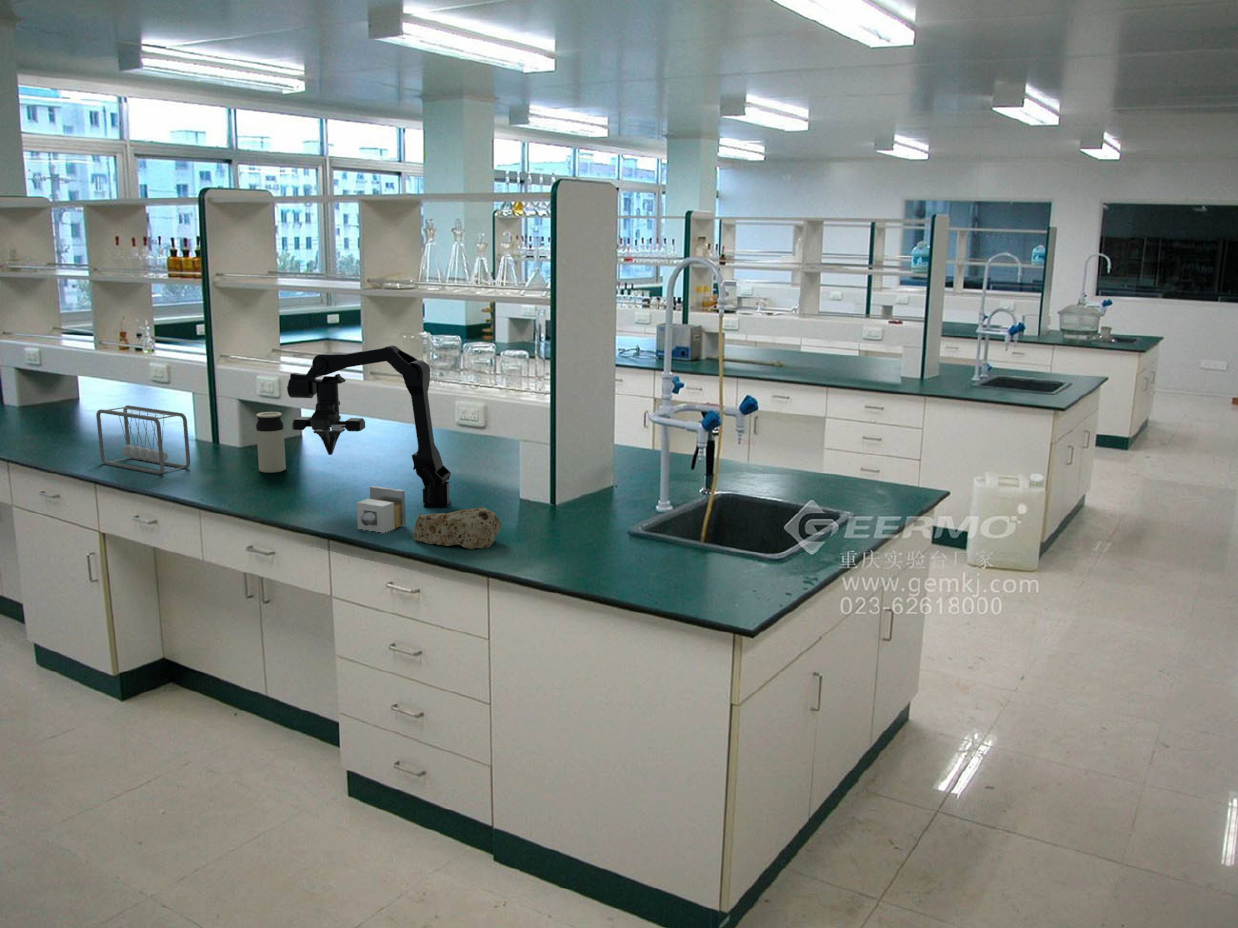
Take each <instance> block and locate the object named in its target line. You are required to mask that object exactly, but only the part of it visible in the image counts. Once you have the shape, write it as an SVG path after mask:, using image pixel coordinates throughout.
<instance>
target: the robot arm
mask: <svg viewBox="0 0 1238 928" xmlns="http://www.w3.org/2000/svg"><path fill="white" fill-rule="evenodd" d="M383 362H387V363H388V364H389V365H390V366H391V367H392V368H393V369H394V370H395V371H396V372H398V374H400V375H402V378H403V380H404V385H405V387H406V389H407V391H408V393H409V395H410V398H411V403H412V412H413V418H414V419H413V420H414V426H415V433H416V440H417V441H416V442H417V451H416V452H414V453H413V454H412V455H411V458H412V462H413V468H412V469H413V471H414V470H415V473H416V475H417V476H418V477H419V478H421V481H422V484H423V486H424V487H423V488H422V504H423V507H425V508H427V507H428V508H448V506H449V505H450V504H451V503H452V499H450V481H449V480H450V478H451V475H452V472H451V471H450V470H449V469H448V468H447V467H446V466H445V465H444V463H443V460H442V457H441V455H440V454H441V453H440V452H439V449H438V448H437V446H436V443H435V439H434V432H433V424H432V415H431V409H430V401H429V393H428V392H429V387H430V383H431V382H430V381H431V368H430V365H429V364H428V363H426V361H424V360H419V359H417V358H416V357H414V356H413V355H410V354H409V353H407V352H405V351H404V350H403V349H402V350H401V349H400V348H399V347H397V346H396V345H388V346H385V347H380V348H379V347H377V348H372V349H367V350H366V349H365V350H361V351H360V350H359V351H355V352H340V351H339V352H337V351H327V352H324V353H321V354H317V355H315V356H314V358H313V359H312V363H311V367H310V368H309V370H308V371H307V372H306V373H300V372H292V373H290V374H289V377H290V378H289V379H288V383H287V386H286V390H287V394H288V396H289V398H290V399H291V398H293V399H297V398H298V399H313V397H314V396H316V402H317V403H315V410H314V412H313V413H312V415H311V416H299V417H296V418H295V419H293V420H292V423H291V424H292V430H293V431H304V430H305V429H306V428H307V427H308V428H311V430H313V431H312V432H313V433H314V434H316V435H318V437H320V439H321V441H322V442H323V445H324V448H325V450H326V452H327V454H328V456H332V455H333V453H334V451H335V447H336V445H337V442H338V441H339V440H338V439H339V437H340V435H341V434H342V433H343V432H344V431H347V432H361V431H362V430H364V429H366V421H365V419H364V418H363V417H350V418H348V419H346V420H342V417H341V415H340V405H341V401H340V399H339V384H343V383H345V382H346V379H345V378H344V377H343V376H342V375H341V374H340V373H337V374H334V376H330V375H331V374H333V373H336V372H339V371H342V370H344V369H348V368H351V367H357V366H358V367H359V366H364V365H372V364H377V363H383ZM327 375H329V376H327ZM319 377H323V378H321V379H317V378H319Z"/></svg>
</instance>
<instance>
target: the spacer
mask: <svg viewBox="0 0 1238 928" xmlns="http://www.w3.org/2000/svg"><path fill="white" fill-rule="evenodd" d="M394 517H395V529H398V528H399V527H402V525H401V505H400V504H394Z"/></svg>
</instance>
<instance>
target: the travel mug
mask: <svg viewBox="0 0 1238 928" xmlns="http://www.w3.org/2000/svg"><path fill="white" fill-rule="evenodd" d="M255 416H256V418H257V422H256V424H255V427H256V428H255V429H256V446H257V447H256V448H257V457H258V458H257V460H258V471H259V472H261V473H263V474H276V473H281V472H283V471H285V470H286V469H287V466H286V450H285V449H286V448H285V434H284V433H285V431H284V422H283V421H282V412H279V411H265V412H258V413H256V415H255Z"/></svg>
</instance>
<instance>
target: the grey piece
mask: <svg viewBox="0 0 1238 928" xmlns="http://www.w3.org/2000/svg"><path fill="white" fill-rule="evenodd" d="M405 495H406V494H405V490H404V489H397V488H396V489H395V488H392V487H391V488H390V487H383V486H376V485H371V486H369V499H375V500H382V501H388V502H394V504H400V505H401V527H402V526H406V525H407V522H406V518H407V517H406V496H405ZM361 521H362V523H363V524H364V525H366V526H367V525H370V524H373V523H375V522H377V512H373V511H371V512H368V513H365V514H363V515H362V516H361Z"/></svg>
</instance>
